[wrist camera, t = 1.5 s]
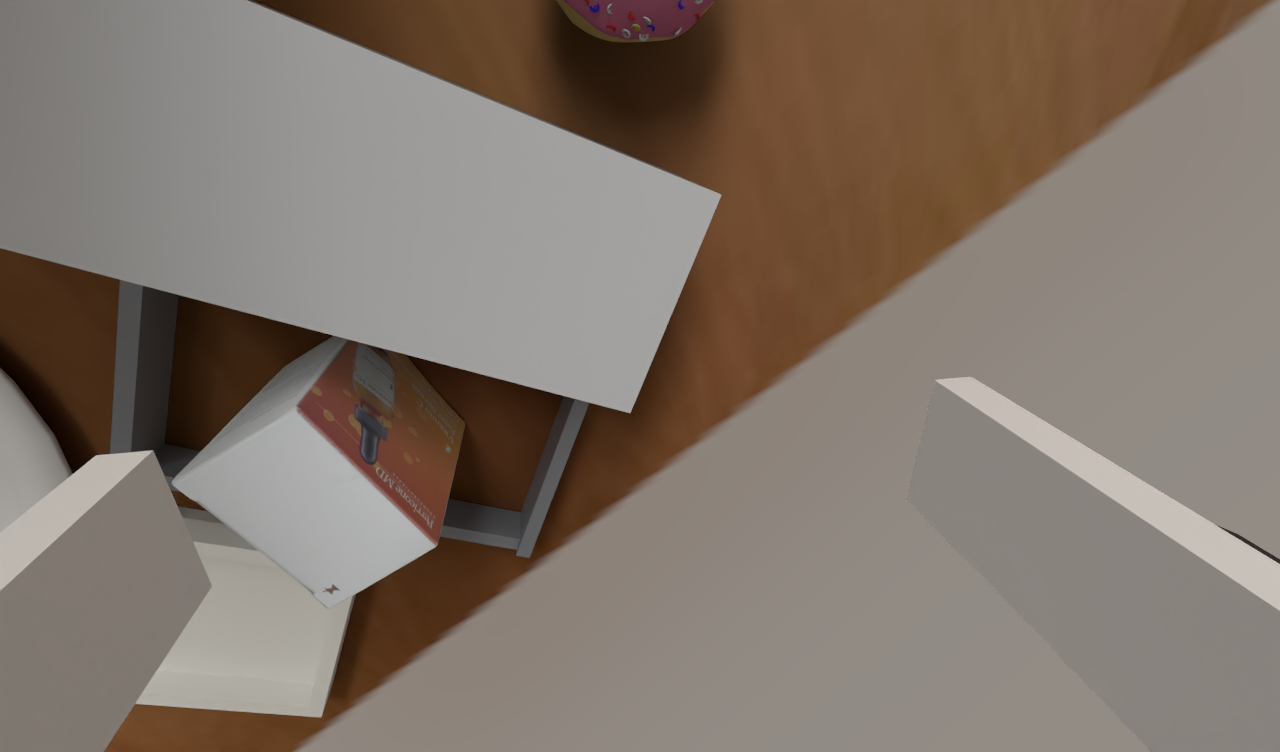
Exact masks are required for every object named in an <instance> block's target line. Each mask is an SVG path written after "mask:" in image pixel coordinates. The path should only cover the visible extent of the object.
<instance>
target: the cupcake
mask: <svg viewBox="0 0 1280 752" xmlns="http://www.w3.org/2000/svg"><path fill="white" fill-rule="evenodd" d="M714 1H715V0H556V2H557V3H558V4H559V5H560V7H561V8H562V9H563V11H564V12H565V14H566V15H567V17H568V18H569V20H570V21H571V22H572V23H573V24H575V25H576V26H577V27H579V28H580V29H582V30H583V31H585V32H587V33H588V34H590V35H592V36H594V37H597V38H599V39H602V40H606V41H611V42H651V41H662V40H669V39H673V38H676V37H678V36H679V35H681V34H683V33H685V32H686V31H687V30H689V29H690V28H691V27H692V26H693V25H694V23H695V22H696V21H697V20H698V19H699V18H700V17H701V16H702V15H703V14H704V13H705V12H706V11H707V9H708V8H709V7H710V6H711V5H712V4H713V2H714Z"/></svg>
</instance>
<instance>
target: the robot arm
mask: <svg viewBox="0 0 1280 752" xmlns="http://www.w3.org/2000/svg"><path fill="white" fill-rule="evenodd" d="M906 499H907V500H908V502H909V503H910V504H911V505H912V506H914V508H915V509H916V510H917V511H918V512H919V513H920V514H921V515H922V516H923V517H924V518H925V519H926V520H927V521H928V522H929V523H930V524H931V525H932V526H933V527H934V528H935V529H936V530H937V532H939V534H940V535H942V537H943V538H944V539H945V540H946V541H947V542H948V543H949V544H950V545H951V546H952V547H953V548H954V549H955V550H956V551H957V552H958V553H959V554H960V555H961V556H962V557H963V558H964V559H965V560H966V561H967V562H968V564H970V566H971V567H972V568H973V569H974V570H975V571H976V572H977V573H978V574H979V575H980V576H981V577H982V578H983V579H984V580H985V581H986V582H987V583H988V584H989V585H990V586H991V587H992V588H993V589H994V590H995V591H996V592H997V593H998V594H999V595H1000V597H1001V598H1002V599H1004V601H1005V602H1006V603H1008V605H1009V606H1010V607H1011V608H1012V609H1013V610H1014V611H1015V612H1016V613H1017V614H1018V615H1019V616H1020V617H1021V618H1022V619H1023V620H1024V621H1025V622H1026V623H1027V624H1028V625H1029V627H1030V628H1031V629H1032V630H1033V631H1034V632H1035V633H1036V634H1037V635H1038V636H1039V637H1040V638H1041V639H1042V640H1043V641H1044V642H1045V643H1046V644H1047V645H1048V646H1049V647H1050V648H1051V649H1052V650H1053V651H1054V652H1055V653H1056V654H1057V655H1058V656H1059V658H1060V659H1062V661H1063V662H1064V663H1065V664H1066V665H1067V666H1068V667H1069V668H1071V670H1072V671H1073V672H1074V673H1075V674H1076V675H1077V676H1078V677H1079V678H1080V679H1081V680H1082V681H1083V682H1084V683H1085V684H1086V685H1087V686H1088V687H1089V688H1090V690H1091V691H1092V692H1093V693H1094V694H1096V695H1097V697H1098V698H1099V699H1100V700H1101V701H1102V702H1103V703H1104V704H1105V705H1106V706H1107V707H1108V708H1109V709H1110V710H1111V711H1112V712H1113V713H1114V714H1115V715H1116V716H1117V717H1118V718H1119V719H1120V720H1121V722H1123V724H1124V725H1125V726H1126V727H1127V728H1128V729H1129V730H1130V731H1131V732H1132V733H1133V734H1134V735H1135V736H1136V737H1137V738H1138V739H1139V740H1140V741H1141V742H1142V743H1143V744H1144V745H1145V746H1146V747H1147V748H1148V749H1149V750H1150V752H1280V559H1278V558H1276V557H1275V556H1273V555H1271V554H1270V553H1268V552H1266V551H1264V550H1263V549H1261V548H1260V547H1258V546H1256V545H1255V544H1253V543H1251V542H1250V541H1248V540H1246V539H1245V538H1243V537H1242V536H1240V535H1238V534H1236V533H1234V532H1231V531H1229V530H1227V529H1224V528H1222V527H1220V526H1217V525H1215V524H1213V523H1211V522H1210V521H1208V520H1206V519H1205V518H1203V517H1201V516H1200V515H1198V514H1196V513H1195V512H1193V511H1191V510H1190V509H1188V508H1187V507H1185V506H1183V505H1181V504H1180V503H1178V502H1177V501H1175V500H1173V499H1172V498H1170V497H1168V496H1167V495H1165V494H1163V493H1162V492H1160V491H1159V490H1157V489H1155V488H1154V487H1152V486H1150V485H1148V484H1147V483H1145V482H1144V481H1142V480H1140V479H1139V478H1137V477H1135V476H1134V475H1132V474H1131V473H1129V472H1127V471H1126V470H1124V469H1122V468H1121V467H1118V466H1117V465H1116V464H1114V463H1112V462H1111V461H1109V460H1107V459H1106V458H1104V457H1103V456H1101V455H1099V454H1098V453H1096V452H1094V451H1093V450H1091V449H1089V448H1087V447H1086V446H1084V445H1083V444H1081V443H1079V442H1078V441H1076V440H1074V439H1073V438H1071V437H1069V436H1068V435H1066V434H1065V433H1063V432H1061V431H1059V430H1058V429H1056V428H1055V427H1053V426H1051V425H1050V424H1048V423H1046V422H1045V421H1043V420H1041V419H1040V418H1038V417H1037V416H1035V415H1033V414H1031V413H1030V412H1028V411H1027V410H1025V409H1023V408H1022V407H1020V406H1018V405H1017V404H1015V403H1014V402H1012V401H1010V400H1008V399H1007V398H1005V397H1004V396H1002V395H1000V394H998V393H997V392H995V391H994V390H992V389H990V388H989V387H987V386H985V385H984V384H982V383H981V382H979V381H977V380H976V379H974V378H972V377H963V378H952V379H940V380H935V381H934V385H933V389H932V393H931V398H930V402H929V406H928V410H927V414H926V419H925V423H924V427H923V431H922V435H921V440H920V444H919V448H918V452H917V456H916V460H915V465H914V469H913V473H912V477H911V481H910V485H909V490H908V494H907V498H906ZM211 587H212V584H211V582H210V580H209V577H208V575H207V573H206V571H205V568H204V566H203V564H202V561H201V559H200V557H199V554H198V552H197V550H196V548H195V545H194V543H193V541H192V538H191V536H190V534H189V531H188V529H187V527H186V525H185V522H184V520H183V518H182V515H181V513H180V511H179V508H178V506H177V504H176V502H175V499H174V497H173V495H172V492H171V490H170V488H169V485H168V483H167V481H166V479H165V476H164V474H163V472H162V469H161V467H160V465H159V462H158V460H157V458H156V456H155V453H154V451H153V450H151V451H140V452H129V453H118V454H106V455H96V456H95V457H93V458H92V459H91V460H90V461H88V462H87V463H86V464H85V465H83V466H82V467H81V468H80V469H79V470H77V471H76V472H75V473H74V474H72V475H71V476H70V477H69V478H67V479H66V480H65V481H64V482H62V483H61V484H60V485H59V486H58V487H56V488H55V489H54V490H53V491H51V492H50V493H49V494H48V495H46V496H45V497H44V498H43V499H41V500H40V501H39V502H38V503H36V504H35V505H34V506H33V507H32V508H30V509H29V510H28V511H27V512H25V513H24V514H23V515H22V516H20V517H19V518H18V519H17V520H15V521H14V522H13V523H12V524H11V525H9V526H8V527H7V528H6V529H4V530H3V531H2V532H1V533H0V752H104V750H105V749H106V747H107V746H108V744H109V743H110V741H111V740H112V738H113V737H114V735H115V734H116V732H117V731H118V729H119V728H120V726H121V724H122V723H123V721H124V720H125V718H126V717H127V715H128V714H129V712H130V711H131V709H132V708H133V706H134V705H135V703H136V702H137V700H138V699H139V697H140V696H141V694H142V692H143V691H144V689H145V688H146V686H147V685H148V683H149V682H150V680H151V679H152V677H153V676H154V674H155V673H156V671H157V670H158V668H159V667H160V665H161V664H162V662H163V660H164V659H165V657H166V656H167V654H168V653H169V651H170V650H171V648H172V647H173V645H174V644H175V642H176V641H177V639H178V638H179V636H180V635H181V633H182V632H183V630H184V628H185V627H186V625H187V624H188V622H189V621H190V619H191V618H192V616H193V615H194V613H195V612H196V610H197V609H198V607H199V606H200V604H201V603H202V601H203V600H204V598H205V596H206V595H207V593H208V592H209V590H210V589H211Z"/></svg>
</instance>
